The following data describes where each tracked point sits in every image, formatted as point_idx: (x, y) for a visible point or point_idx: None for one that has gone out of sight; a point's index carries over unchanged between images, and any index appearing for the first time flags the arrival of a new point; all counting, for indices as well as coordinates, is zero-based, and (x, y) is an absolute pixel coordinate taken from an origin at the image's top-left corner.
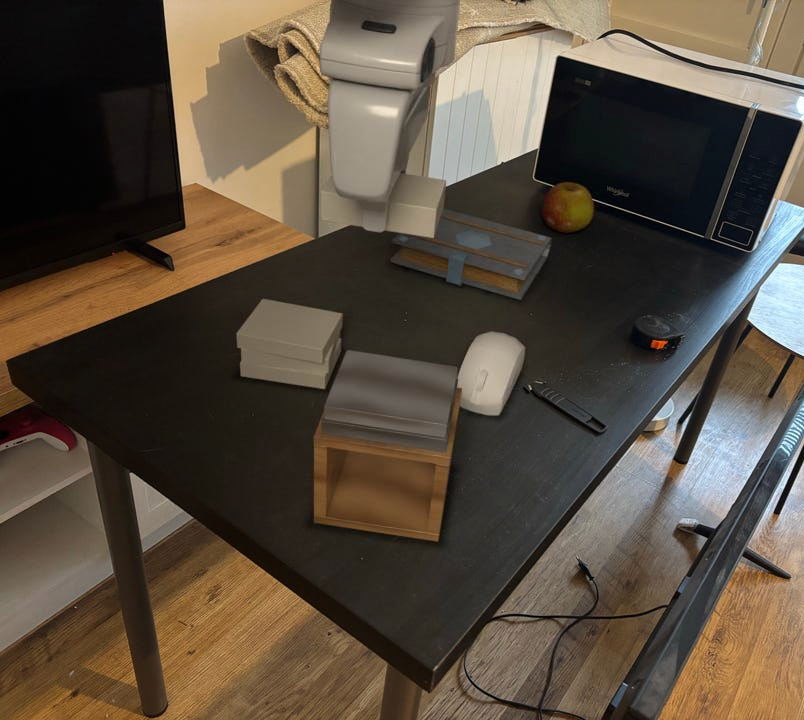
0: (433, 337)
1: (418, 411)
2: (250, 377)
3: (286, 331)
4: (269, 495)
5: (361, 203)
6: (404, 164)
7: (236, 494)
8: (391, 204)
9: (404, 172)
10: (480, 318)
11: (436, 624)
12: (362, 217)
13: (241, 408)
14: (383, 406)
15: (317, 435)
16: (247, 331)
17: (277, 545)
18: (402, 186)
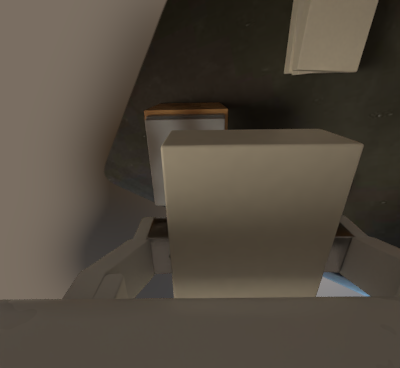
0: (354, 140)
1: (162, 186)
2: (293, 2)
3: (323, 24)
4: (172, 68)
5: (114, 250)
6: (357, 281)
7: (167, 45)
8: (172, 277)
9: (337, 271)
10: (379, 170)
11: (119, 176)
12: (139, 226)
13: (253, 11)
14: (160, 163)
15: (145, 112)
16: None
17: (137, 87)
18: (251, 285)
